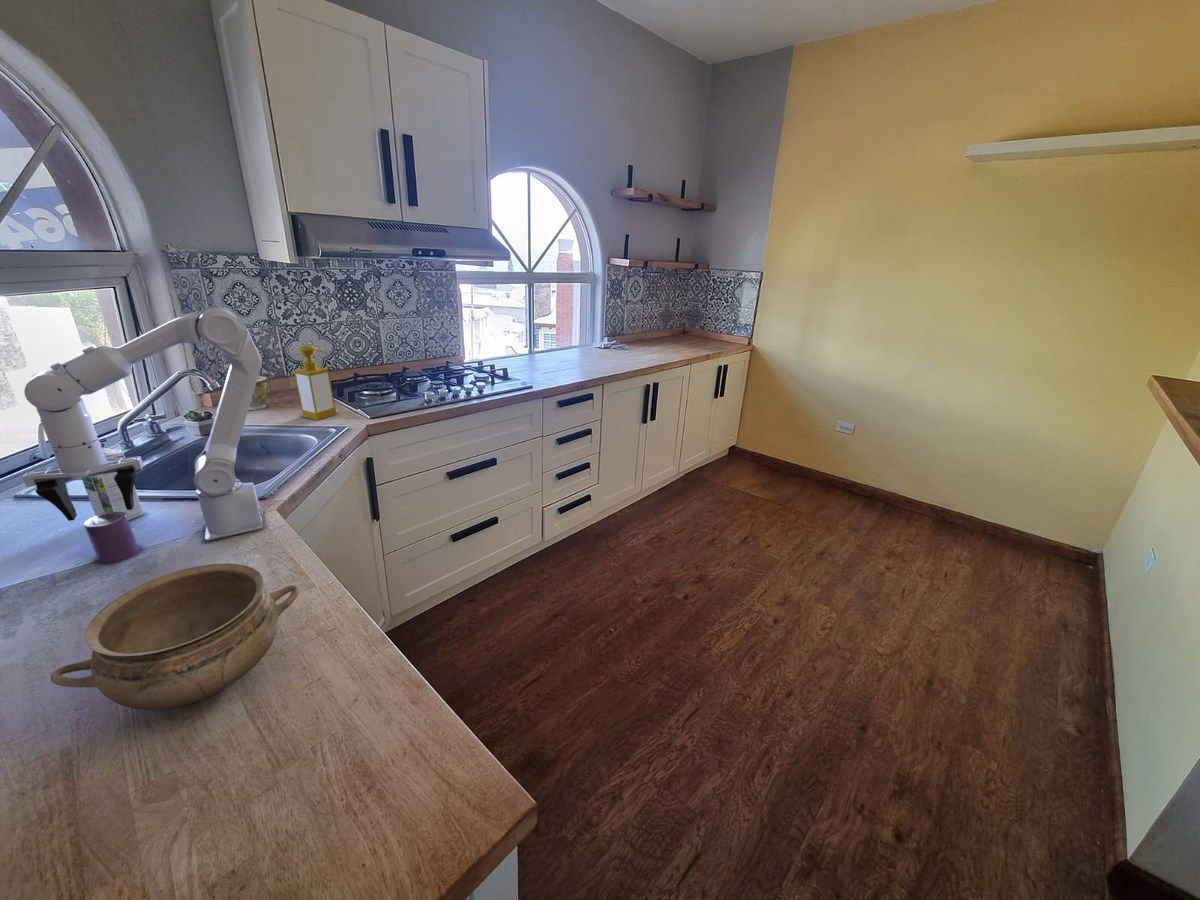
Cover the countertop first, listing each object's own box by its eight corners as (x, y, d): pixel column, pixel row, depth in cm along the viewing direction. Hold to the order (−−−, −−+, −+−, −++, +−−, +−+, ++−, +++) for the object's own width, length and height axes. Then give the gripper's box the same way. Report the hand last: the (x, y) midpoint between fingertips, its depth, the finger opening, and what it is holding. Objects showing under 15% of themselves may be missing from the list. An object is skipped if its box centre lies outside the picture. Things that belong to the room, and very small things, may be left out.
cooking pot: (293, 602, 82) (277, 538, 77) (328, 671, 69) (311, 599, 64) (80, 682, 66) (44, 608, 61) (74, 791, 53) (28, 707, 49)
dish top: (132, 520, 94) (128, 508, 93) (127, 533, 90) (123, 521, 89) (92, 528, 91) (87, 516, 90) (85, 542, 87) (79, 530, 86)
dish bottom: (141, 543, 96) (136, 531, 95) (136, 557, 92) (132, 545, 91) (101, 551, 93) (97, 539, 92) (95, 566, 89) (90, 554, 88)
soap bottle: (328, 422, 163) (315, 350, 154) (302, 416, 168) (288, 346, 159) (347, 416, 169) (335, 346, 160) (322, 410, 174) (309, 342, 165)
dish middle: (136, 531, 95) (132, 520, 94) (132, 545, 91) (127, 533, 90) (97, 539, 92) (92, 528, 91) (90, 554, 88) (85, 542, 87)
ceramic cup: (230, 410, 171) (223, 381, 168) (254, 402, 180) (247, 375, 177) (264, 413, 169) (257, 384, 166) (286, 405, 179) (280, 377, 175)
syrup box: (95, 521, 103) (70, 456, 98) (129, 508, 108) (107, 446, 103) (112, 527, 101) (87, 461, 96) (146, 514, 106) (124, 451, 101)
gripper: (3, 458, 77) (37, 533, 82) (127, 442, 85) (152, 512, 90) (19, 443, 83) (50, 515, 88) (134, 429, 90) (157, 496, 95)
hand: (102, 512), depth 89 cm, fingers open, 7 cm apart
